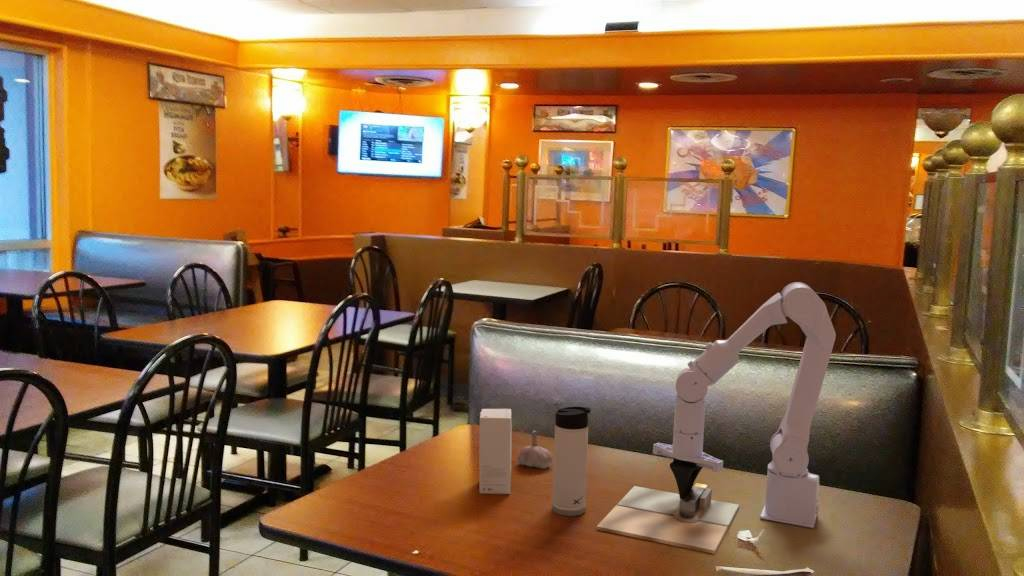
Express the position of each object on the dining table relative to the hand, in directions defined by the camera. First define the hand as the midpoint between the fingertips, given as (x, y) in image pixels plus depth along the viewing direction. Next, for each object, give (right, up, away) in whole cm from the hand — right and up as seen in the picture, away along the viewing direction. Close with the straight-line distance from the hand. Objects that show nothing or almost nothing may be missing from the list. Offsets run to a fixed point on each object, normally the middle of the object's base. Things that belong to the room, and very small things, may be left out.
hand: (684, 498), depth 159 cm
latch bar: (+1, -1, -3) cm, 4 cm away
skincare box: (-37, 0, +7) cm, 38 cm away
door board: (-4, -2, -7) cm, 8 cm away
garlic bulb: (-29, +1, +21) cm, 35 cm away
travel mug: (-23, -2, -4) cm, 23 cm away
